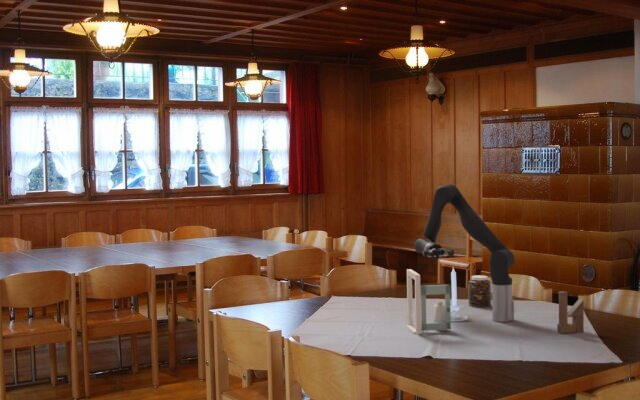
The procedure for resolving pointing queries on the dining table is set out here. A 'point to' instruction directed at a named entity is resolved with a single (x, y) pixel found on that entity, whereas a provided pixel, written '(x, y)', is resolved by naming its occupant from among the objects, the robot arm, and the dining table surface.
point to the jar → (479, 291)
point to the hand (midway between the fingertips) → (442, 254)
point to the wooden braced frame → (570, 315)
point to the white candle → (439, 313)
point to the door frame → (415, 328)
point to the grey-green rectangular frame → (445, 290)
